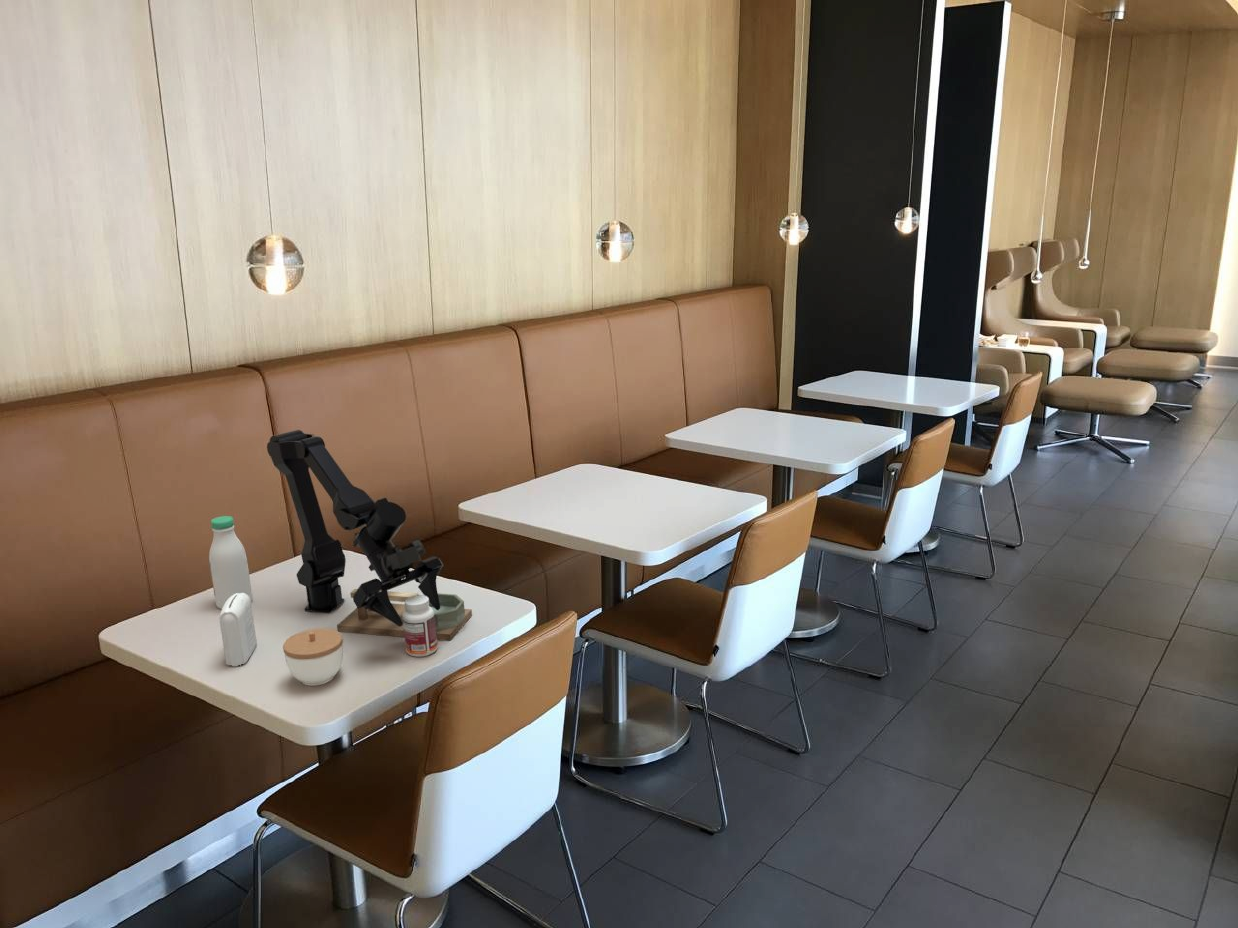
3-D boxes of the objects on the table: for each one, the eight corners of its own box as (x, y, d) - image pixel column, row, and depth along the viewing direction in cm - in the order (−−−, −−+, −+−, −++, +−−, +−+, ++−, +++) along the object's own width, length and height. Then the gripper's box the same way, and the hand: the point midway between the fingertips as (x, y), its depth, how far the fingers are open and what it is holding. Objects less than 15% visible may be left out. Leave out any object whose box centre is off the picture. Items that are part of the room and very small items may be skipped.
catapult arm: (343, 623, 214) (340, 600, 212) (366, 603, 223) (363, 580, 222) (452, 632, 208) (450, 608, 207) (470, 610, 218) (468, 588, 216)
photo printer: (238, 644, 210) (229, 588, 206) (259, 642, 210) (251, 586, 206) (223, 668, 200) (214, 609, 196) (246, 666, 200) (237, 608, 196)
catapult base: (337, 631, 214) (333, 599, 212) (364, 607, 225) (361, 576, 223) (450, 640, 208) (447, 607, 206) (472, 615, 219) (469, 584, 217)
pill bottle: (428, 640, 208) (423, 590, 205) (443, 650, 204) (438, 599, 201) (400, 650, 205) (395, 599, 201) (415, 660, 200) (410, 609, 197)
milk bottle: (260, 600, 230) (248, 516, 224) (231, 613, 224) (218, 527, 218) (237, 593, 234) (225, 510, 228) (208, 606, 228) (195, 521, 222)
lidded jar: (294, 666, 199) (288, 622, 197) (351, 662, 200) (345, 618, 197) (282, 694, 189) (275, 648, 187) (341, 689, 190) (335, 643, 187)
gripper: (355, 545, 194) (396, 614, 190) (433, 518, 207) (473, 581, 203) (335, 574, 201) (375, 641, 197) (412, 546, 214) (451, 608, 210)
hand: (420, 617), depth 202 cm, fingers open, 9 cm apart
